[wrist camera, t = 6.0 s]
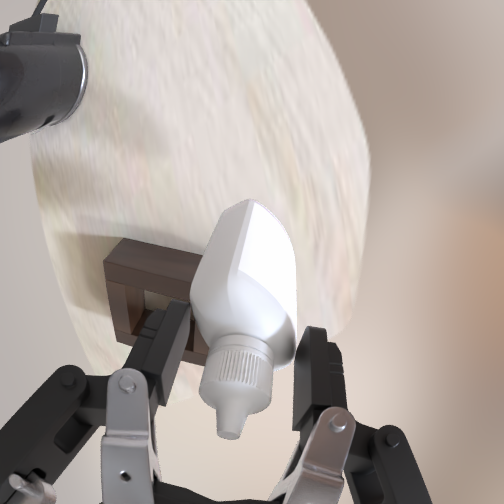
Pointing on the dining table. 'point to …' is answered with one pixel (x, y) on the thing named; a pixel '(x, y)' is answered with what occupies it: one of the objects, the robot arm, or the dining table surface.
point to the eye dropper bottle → (244, 312)
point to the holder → (150, 289)
